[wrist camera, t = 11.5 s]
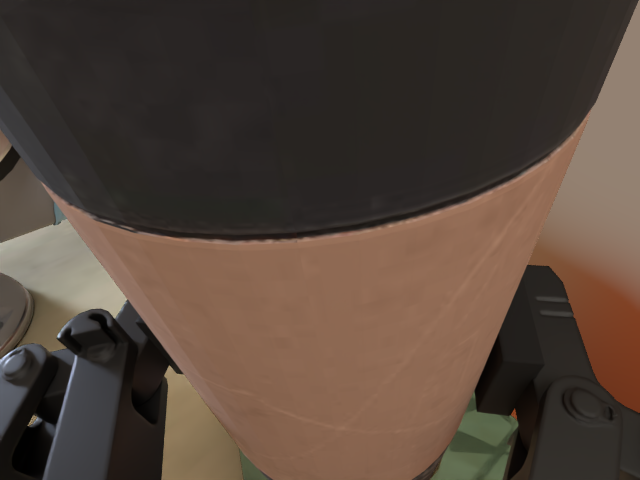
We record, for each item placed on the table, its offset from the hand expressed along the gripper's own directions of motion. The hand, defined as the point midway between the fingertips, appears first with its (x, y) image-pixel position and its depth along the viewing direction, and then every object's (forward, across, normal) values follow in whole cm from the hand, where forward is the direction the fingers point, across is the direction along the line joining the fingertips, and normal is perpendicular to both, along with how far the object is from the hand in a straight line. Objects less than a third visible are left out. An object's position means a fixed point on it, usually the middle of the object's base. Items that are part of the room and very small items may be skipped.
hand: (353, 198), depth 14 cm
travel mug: (-5, 0, -11) cm, 12 cm away
